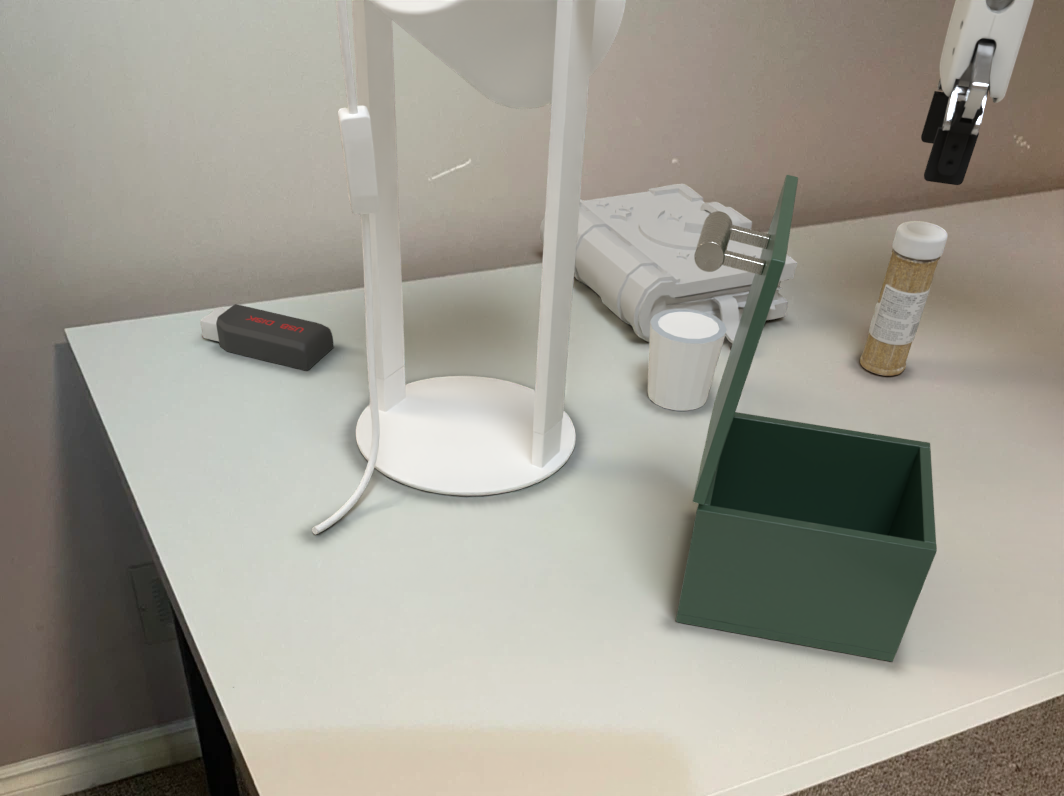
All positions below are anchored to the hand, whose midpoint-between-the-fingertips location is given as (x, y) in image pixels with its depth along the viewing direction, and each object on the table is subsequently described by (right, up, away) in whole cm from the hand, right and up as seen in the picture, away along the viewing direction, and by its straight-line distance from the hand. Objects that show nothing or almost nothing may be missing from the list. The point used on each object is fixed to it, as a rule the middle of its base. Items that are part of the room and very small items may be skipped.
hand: (940, 161), depth 93 cm
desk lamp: (-43, -25, -1) cm, 50 cm away
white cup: (-22, -18, +8) cm, 29 cm away
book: (-20, -3, +23) cm, 31 cm away
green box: (-16, -38, -12) cm, 43 cm away
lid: (-22, -24, -24) cm, 40 cm away
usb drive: (-61, -12, +11) cm, 64 cm away
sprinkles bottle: (-1, -14, +14) cm, 19 cm away
